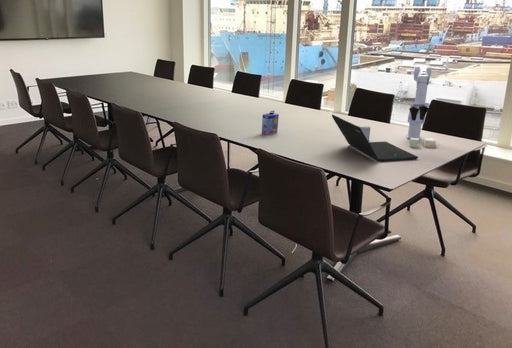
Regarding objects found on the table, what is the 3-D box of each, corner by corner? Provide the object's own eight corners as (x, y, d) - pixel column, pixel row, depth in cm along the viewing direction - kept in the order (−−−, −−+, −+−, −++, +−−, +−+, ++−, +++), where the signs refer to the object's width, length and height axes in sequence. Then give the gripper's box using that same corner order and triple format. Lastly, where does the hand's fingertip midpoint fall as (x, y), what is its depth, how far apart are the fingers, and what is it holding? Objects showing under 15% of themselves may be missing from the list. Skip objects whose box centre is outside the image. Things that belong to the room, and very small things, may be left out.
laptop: (418, 160, 254) (424, 124, 247) (355, 164, 243) (359, 127, 237) (385, 143, 284) (389, 111, 277) (327, 146, 273) (330, 113, 267)
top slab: (422, 141, 284) (423, 137, 283) (433, 142, 283) (434, 138, 282) (424, 143, 278) (425, 140, 278) (435, 144, 278) (435, 141, 277)
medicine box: (367, 139, 290) (368, 125, 288) (369, 141, 286) (370, 127, 283) (354, 139, 290) (355, 125, 287) (356, 141, 286) (357, 127, 283)
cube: (409, 144, 282) (410, 137, 280) (417, 145, 281) (418, 138, 279) (409, 146, 278) (410, 139, 276) (417, 147, 276) (418, 140, 275)
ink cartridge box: (267, 135, 292) (268, 112, 287) (261, 133, 295) (261, 110, 291) (278, 132, 299) (279, 110, 294) (271, 131, 302) (272, 108, 298)
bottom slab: (422, 144, 285) (423, 141, 285) (435, 145, 284) (435, 142, 283) (423, 147, 279) (423, 143, 278) (435, 148, 277) (436, 145, 277)
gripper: (407, 96, 275) (404, 119, 275) (422, 93, 261) (419, 118, 262) (417, 98, 277) (414, 121, 277) (433, 95, 263) (430, 120, 264)
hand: (417, 120), depth 270 cm, fingers open, 7 cm apart
